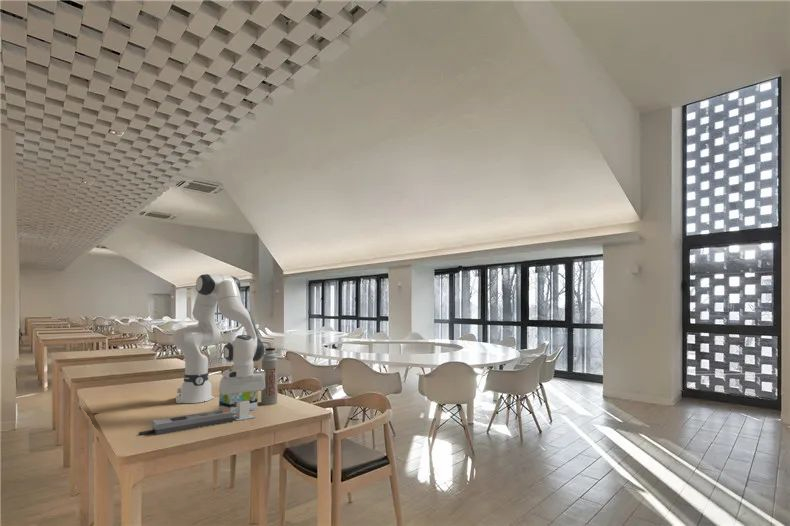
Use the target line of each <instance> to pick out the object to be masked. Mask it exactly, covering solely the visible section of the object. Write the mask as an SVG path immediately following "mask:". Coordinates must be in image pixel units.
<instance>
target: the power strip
mask: <svg viewBox="0 0 790 526" xmlns="http://www.w3.org/2000/svg"><path fill="white" fill-rule="evenodd" d="M233 416H234V414H233V413H232V412H231V411H230V409H223V410H219V409H218V410H212V411H206V412H200V413H193V414H192V413H191V414H187V415H185V414H184V415H180V416H173V417H165V418H160V419H154V420H152V426H151V429H150V430H144V431H139V432H138V436H142V435H143V434H144V435H148V434H149V433H150V434H155V435H156V436H158V434H159V435H165V434H170V433H171V434H172V433H176V431H177V432H181V430H183V431H187V429H188V430H192V429H193V428H194V429H198V427H200V428H204V427H203V426H206V427H210V426H209V425H212V426H216V425H215V424H218V425H222V424H221V423H223V424H228V423H227V422H229V423H233V421H234V419H233ZM194 429H193V430H194ZM150 434H149V435H150Z"/></svg>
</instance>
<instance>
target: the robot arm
mask: <svg viewBox="0 0 790 526" xmlns="http://www.w3.org/2000/svg"><path fill="white" fill-rule="evenodd" d="M195 289H196V290H195V291H197V293H196V297H195V300H194V305H193V309H192V312H191V313H192V316H193V319H195V320H196V321H198V324H197V326H186V327H181V328H179V329H176V330H175V331H174V333H173V335H172V342H173V344H174V346H175V347H176V348H178V349H179V350H180V351H181V353H182V355H183V357H184V358H183V359H184V366H185V367H184V368H185V369H184V370H185V371H184V374H183V382H182V384H181V385H180V387H179V388H177V392H176V393H177V394H178V395H175V403H176V404H198V403H203V402H204V401H205V402H208V401H210V400H212V399H215V396H214V395H212V383H211V382H210V381H209V376H210V374H209V372H208V371H209V369H208V368H209V359H208V357H207V356H206V355H205V354H203V353H201V349H200V348H201V347H202V348H203V347H210V346H213V345H215V344H218V343H219V342H220V340H221V336H222V335H221V329H220V328H218V326H217V325H216V322H215V316H216V312H217V311H216V310H217V309H218V311H219V314H220V315H221V316H222V317H224V318H225V319H227V320H229V321H232V322H236V323H238V324H240V325H242V327H244V329H245V333H246V334H240V335H237V336H235V338H234V340H232V341H229V342H228V343H226V344H225V346H224V348H223V357H224V359H225V360H226V361H227V362H230V363H233V365H232V367H231V368H229V369H226V370H224V371H222V373H221V375H222V377H221V379H220V382H219V388H218V392H219V395H220V394H222V395H227V396H228V398H229V400H230V404H234V399H232V398H231V396H232V394H235V393H243V392H251V391H253V393H254V394H253V396H252V397H250V398H251V399H250V401H255V396H256V395H257V392H259V391H261V390H264V389H265V372H264V371H263V370H262V369H255V370H254V367H255V366H254V365H255V363H254V362H258V361H259V360H262V358H263V355H264V354H265V345H264V344H263V342H262V339H261V338H260V335H259V332H258V328H257V327H256V323H255V321H254V318H253V316H252V313H251V312H250V310H249V309H247V308H246V307H245V306H244V304H243V302H242V297H241V292H240V291H241V282H240V280H239V278H237V277H235V276H232V275H230V276H229V275H224V274H208V273H207V274H201V275H199V276H198V277H197V279H196V282H195ZM217 307H218V308H217ZM262 371H263V372H262Z"/></svg>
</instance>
